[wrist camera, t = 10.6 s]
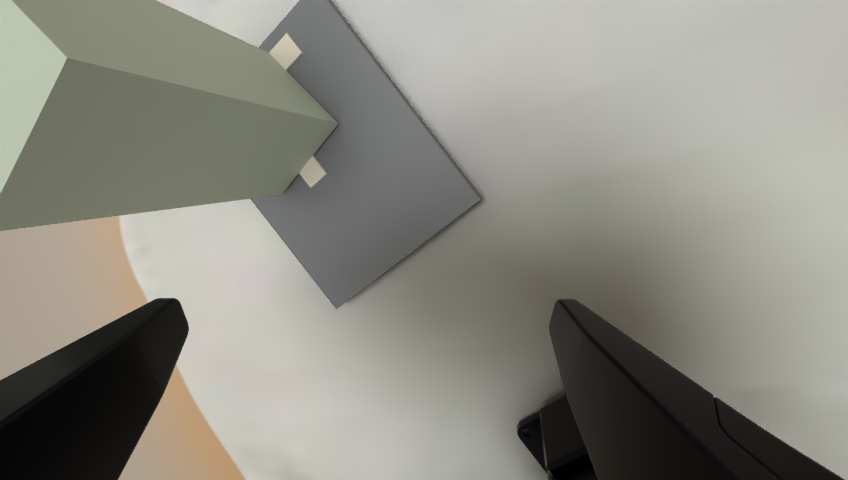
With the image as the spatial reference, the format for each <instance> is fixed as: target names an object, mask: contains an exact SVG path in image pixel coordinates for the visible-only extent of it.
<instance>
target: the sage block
mask: <svg viewBox="0 0 848 480" xmlns="http://www.w3.org/2000/svg"><path fill="white" fill-rule="evenodd" d="M337 125H338V122H337V121H336V120H335V119H334V118H333V117H332V116H331V115H330V114H329V113H328V112H327V111H326V110H325V109H324V108H323V107H322V106H321V105H320V104H319V103H318V102H317V101H316V100H315V99H314V98H313V97H312V96H311V95H310V94H309V93H308V92H307V91H306V90H305V89H304V88H303V87H302V86H301V85H300V84H299V83H298V82H297V81H296V80H295V79H294V78H293V77H292V76H291V75H290V74H289V73H288V72H287V71H286V70H285V69H284V68H283V67H282V66H281V64H280V63H279V62H278V61H277V60H276V59H275V58H274V57H273V56H272V55H271V54H270V53H268V52H266V51H264V50H262V49H260V48H257V47H255V46H253V45H251V44H249V43H247V42H244V41H242V40H240V39H238V38H236V37H234V36H232V35H229V34H227V33H225V32H223V31H221V30H219V29H216V28H214V27H212V26H210V25H208V24H206V23H203V22H201V21H199V20H197V19H195V18H193V17H191V16H188V15H186V14H184V13H182V12H180V11H178V10H175V9H173V8H171V7H169V6H167V5H165V4H162V3H160V2H158V1H156V0H0V231H2V230H10V229H18V228H26V227H34V226H42V225H49V224H57V223H65V222H72V221H79V220H88V219H96V218H104V217H111V216H119V215H127V214H135V213H142V212H150V211H158V210H165V209H173V208H181V207H189V206H196V205H204V204H212V203H220V202H227V201H235V200H243V199H251V198H258V197H266V196H274V195H282V193H283V192H284V191H285V190H286V188H287V187H288V186H289V185H290V183H291V182H292V181H293V180H294V178H295V177H296V176H297V175H298V173H299V172H300V171H301V170H302V168H303V167H304V166H305V165H306V163H307V162H308V161H309V160H310V158H311V157H312V156H313V155H314V153H315V152H316V151H317V150H318V148H319V147H320V146H321V145H322V143H323V142H324V141H325V140H326V138H327V137H328V136H329V135H330V133H331V132H332V131H333V130H334V128H335V127H336V126H337Z"/></svg>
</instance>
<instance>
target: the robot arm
mask: <svg viewBox="0 0 848 480" xmlns="http://www.w3.org/2000/svg"><path fill="white" fill-rule="evenodd" d="M188 331H189V326H188V322H187V319H186V317H185V314H184V312H183V309H182V306H181V304H180V302H179V301H178V300H177V299H175V298H158V299H155V300H153V301H151V302H149V303H147V304H145V305H144V306H142V307H140V308H138V309H136V310H134V311H132V312H130V313H128V314H126V315H124V316H122V317H121V318H119V319H117V320H115V321H113V322H111V323H109V324H107V325H105V326H103V327H102V328H100V329H98V330H96V331H94V332H92V333H90V334H88V335H86V336H84V337H82V338H80V339H78V340H77V341H75V342H73V343H71V344H69V345H67V346H65V347H63V348H61V349H60V350H57V351H55V352H54V353H52V354H50V355H48V356H46V357H44V358H42V359H40V360H38V361H36V362H35V363H33V364H31V365H29V366H27V367H25V368H23V369H21V370H19V371H17V372H16V373H14V374H12V375H10V376H8V377H6V378H4V379H2V380H0V480H118V479H119V477H120V475H121V473H122V471H123V469H124V467H125V465H126V463H127V461H128V460H129V458H130V455H131V454H132V452H133V450H134V449H135V447H136V445H137V443H138V441H139V439H140V437H141V435H142V434H143V432H144V430H145V427H146V426H147V424H148V422H149V420H150V419H151V417H152V415H153V413H154V411H155V409H156V407H157V405H158V404H159V401H160V399H161V398H162V396H163V394H164V391H165V389H166V387H167V385H168V382H169V380H170V377H171V374H172V372H173V370H174V367H175V365H176V362H177V360H178V357H179V355H180V353H181V350H182V348H183V345H184V343H185V340H186V338H187V335H188ZM549 331H550V336H551V340H552V344H553V348H554V352H555V356H556V359H557V363H558V367H559V371H560V375H561V379H562V383H563V386H564V390H565V393H566V396H564V397H562V398H560V399H558V400H557V401H555V402H553V403H551V404H549V405H547V406H545V407H543V408H542V409H541V410H540V412H538V413H536V414H534V415H532V416H530V417H529V418H527V419H525V420H523V421H521V422H520V423H519V424H518V426H517V433H518V436H519V438H520V439H521V440H522V442H523V443H524V444H525V446H526V447H527V448H528V449H529V451H530V452H531V453H532V455H533V456H534V457H535V458H536V460H537V461H538V462H539V464H540V465H541V466H542V468H543V469H544V470H545V471H546V473H547V474H548V480H844V479H843V478H841V477H840V476H838V475H836V474H835V473H833V472H831V471H830V470H828V469H827V468H825V467H823V466H822V465H820V464H818V463H817V462H815V461H814V460H812V459H810V458H809V457H807V456H805V455H804V454H802V453H801V452H799V451H797V450H796V449H794V448H793V447H791V446H789V445H788V444H786V443H785V442H783V441H782V440H780V439H778V438H777V437H775V436H774V435H772V434H770V433H769V432H767V431H766V430H764V429H763V428H761V427H760V426H758V425H757V424H755V423H754V422H752V421H751V420H749V419H748V418H746V417H745V416H743V415H742V414H740V413H739V412H737V411H736V410H734V409H733V408H732V407H730V406H729V405H727V404H726V403H724V402H723V401H721V400H720V399H719V398H717V397H715V398H714V396H713V395H712V394H711V393H710V392H708V391H707V390H705V389H704V388H703V387H701V386H700V385H698V384H697V383H695V382H694V381H692V380H691V379H690V378H688V377H687V376H685V375H684V374H682V373H681V372H679V371H678V370H676V369H675V368H674V367H672V366H671V365H669V364H668V363H666V362H665V361H663V360H662V359H661V358H659V357H658V356H656V355H655V354H653V353H652V352H650V351H649V350H648V349H646V348H645V347H643V346H642V345H640V344H639V343H637V342H636V341H635V340H633V339H632V338H630V337H629V336H627V335H626V334H624V333H623V332H622V331H620V330H619V329H617V328H616V327H614V326H613V325H611V324H610V323H609V322H607V321H606V320H604V319H603V318H601V317H600V316H598V315H597V314H596V313H594V312H593V311H591V310H590V309H588V308H587V307H585V306H584V305H582V304H581V303H580V302H578V301H577V300H575V299H558V300H557V301H556V303H555V306H554V309H553V313H552V317H551V321H550V325H549ZM525 429H528V430H530V432H528V433H526V432H524V431H523V430H525Z"/></svg>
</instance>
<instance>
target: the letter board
mask: <svg viewBox="0 0 848 480" xmlns="http://www.w3.org/2000/svg"><path fill="white" fill-rule="evenodd" d="M259 48H260V49H262V50H264V51H266V52H268V53H270V54H271V55H272V56H273V57H274V58H275V59H276V60H277V61H278V62H279V63H280V64H281V66H282V67H283V68H284V69H285V70H286V71H287V72H288V73H289V74H290V75H291V76H292V77H293V78H294V79H295V80H296V81H297V82H298V83H299V84H300V85H301V86H302V87H303V88H304V89H305V90H306V91H307V92H308V93H309V94H310V95H311V96H312V97H313V98H314V99H315V100H316V101H317V102H318V103H319V104H320V105H321V106H322V107H323V108H324V109H325V110H326V111H327V112H328V113H329V114H330V115H331V116H332V117H333V118H334V119H335V120H336V121H337V122H338V125H337V126H336V127H335V128H334V130H333V131H332V132H331V133H330V135H329V136H328V137H327V138H326V140H325V141H324V142H323V143H322V145H321V146H320V147H319V148H318V150H317V151H316V152H315V153H314V155H313V156H312V157H311V158H310V160H309V161H308V162H307V163H306V165H305V166H304V167H303V168H302V170H301V171H300V172H299V173H298V175H297V176H296V177H295V178H294V180H293V181H292V182H291V183H290V185H289V186H288V187H287V188H286V190H285V191H284V192H283V193H282V195H274V196H266V197H258V198H251V200H252V201H253V203H254V204H255V205H256V207H257V208H258V209H259V210H260V212H261V213H262V214H263V216H264V217H265V218H266V219H267V221H268V222H269V223H270V225H271V226H272V227H273V228H274V230H275V231H276V232H277V234H278V235H279V236H280V237H281V239H282V240H283V241H284V243H285V244H286V245H287V246H288V248H289V249H290V250H291V252H292V253H293V254H294V255H295V257H296V258H297V259H298V260H299V262H300V263H301V264H302V266H303V267H304V268H305V269H306V271H307V272H308V273H309V275H310V276H311V277H312V278H313V280H314V281H315V282H316V284H317V285H318V286H319V287H320V289H321V290H322V291H323V293H324V294H325V295H326V296H327V298H328V299H329V300H330V302H331V303H332V304H333V305H334V307H335V308H336V309H337V308H339V307H340V306H341V305H343V304H344V303H345V302H346V301H348V300H349V299H350V298H352V297H353V296H354V295H356V294H357V293H358V292H360V291H361V290H362V289H364V288H365V287H366V286H368V285H369V284H370V283H371V282H373V281H374V280H375V279H377V278H378V277H379V276H381V275H382V274H383V273H385V272H386V271H387V270H389V269H390V268H391V267H393V266H394V265H395V264H396V263H398V262H399V261H400V260H402V259H403V258H404V257H406V256H407V255H408V254H410V253H411V252H412V251H414V250H415V249H416V248H418V247H419V246H420V245H421V244H423V243H424V242H425V241H427V240H428V239H429V238H431V237H432V236H433V235H435V234H436V233H437V232H439V231H440V230H441V229H443V228H444V227H445V226H447V225H448V224H449V223H450V222H452V221H453V220H454V219H456V218H457V217H458V216H460V215H461V214H462V213H464V212H465V211H466V210H468V209H469V208H470V207H472V206H473V205H474V204H475V203H477V202H478V201H479V200H480V199H481V196H480V195H479V194H478V192H477V191H476V190H475V189H474V187H473V186H472V185H471V183H470V182H469V181H468V179H467V178H466V177H465V175H464V174H463V173H462V172H461V170H460V169H459V168H458V166H457V165H456V164H455V162H454V161H453V160H452V158H451V157H450V156H449V155H448V153H447V152H446V151H445V149H444V148H443V147H442V145H441V144H440V143H439V141H438V140H437V139H436V138H435V136H434V135H433V134H432V132H431V131H430V130H429V128H428V127H427V126H426V124H425V123H424V122H423V121H422V119H421V118H420V117H419V115H418V114H417V113H416V111H415V110H414V109H413V108H412V106H411V105H410V104H409V102H408V101H407V100H406V98H405V97H404V96H403V94H402V93H401V92H400V91H399V89H398V88H397V87H396V85H395V84H394V83H393V81H392V80H391V79H390V77H389V76H388V75H387V74H386V72H385V71H384V70H383V68H382V67H381V66H380V64H379V63H378V62H377V60H376V59H375V58H374V57H373V55H372V54H371V53H370V51H369V50H368V49H367V47H366V46H365V45H364V43H363V42H362V41H361V40H360V38H359V37H358V36H357V34H356V33H355V32H354V30H353V29H352V28H351V26H350V25H349V24H348V23H347V21H346V20H345V19H344V17H343V16H342V15H341V13H340V12H339V11H338V10H337V8H336V7H335V6H334V4H333V3H332V2H331V0H300V1H299V2H298V3H297V4H296V5H295V6H294V7H293V9H292V10H291V11H290V12H289V13H288V14H287V16H286V17H285V18H284V19H283V20H282V21H281V22H280V24H279V25H278V26H277V27H276V28H275V29H274V31H273V32H272V33H271V34H270V35H269V36H268V37H267V39H266V40H265V41H264V42H263V43H262V44H261V45H260V47H259Z"/></svg>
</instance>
